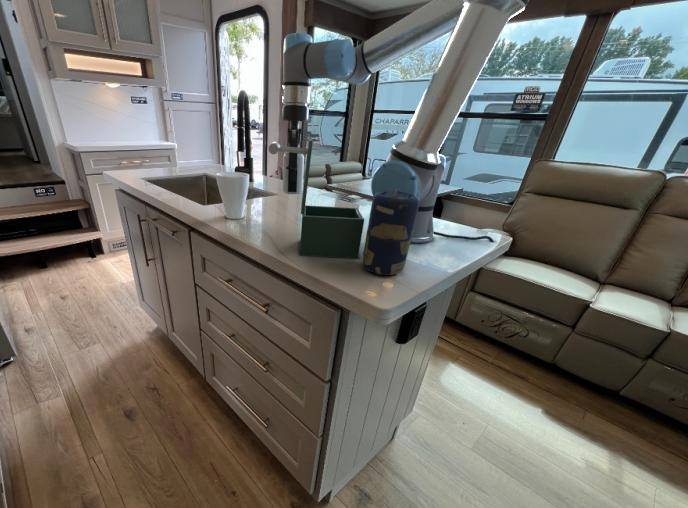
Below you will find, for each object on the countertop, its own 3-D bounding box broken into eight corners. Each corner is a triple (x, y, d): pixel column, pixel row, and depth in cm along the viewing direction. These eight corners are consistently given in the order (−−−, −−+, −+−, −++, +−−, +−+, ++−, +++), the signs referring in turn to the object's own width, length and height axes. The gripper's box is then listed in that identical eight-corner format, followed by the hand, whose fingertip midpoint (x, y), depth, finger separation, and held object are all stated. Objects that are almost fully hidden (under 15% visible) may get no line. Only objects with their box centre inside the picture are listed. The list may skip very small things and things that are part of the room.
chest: (352, 243, 88) (357, 208, 84) (358, 258, 79) (364, 219, 74) (300, 240, 89) (302, 205, 84) (299, 255, 79) (302, 216, 74)
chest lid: (312, 138, 76) (272, 134, 76) (312, 141, 66) (268, 136, 66) (304, 203, 84) (268, 199, 84) (304, 214, 74) (264, 210, 74)
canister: (409, 269, 74) (430, 190, 65) (391, 282, 68) (411, 196, 59) (373, 258, 79) (387, 183, 70) (353, 268, 73) (365, 188, 64)
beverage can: (300, 195, 98) (302, 153, 92) (280, 194, 99) (281, 151, 93) (303, 191, 103) (306, 151, 97) (284, 190, 104) (285, 150, 98)
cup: (222, 211, 112) (220, 171, 105) (252, 213, 111) (251, 172, 105) (215, 220, 102) (212, 176, 96) (247, 221, 102) (246, 177, 96)
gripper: (284, 106, 98) (282, 184, 109) (280, 102, 81) (278, 195, 92) (308, 107, 98) (304, 185, 109) (309, 103, 81) (304, 196, 92)
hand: (292, 189), depth 101 cm, fingers closed on beverage can, 6 cm apart
